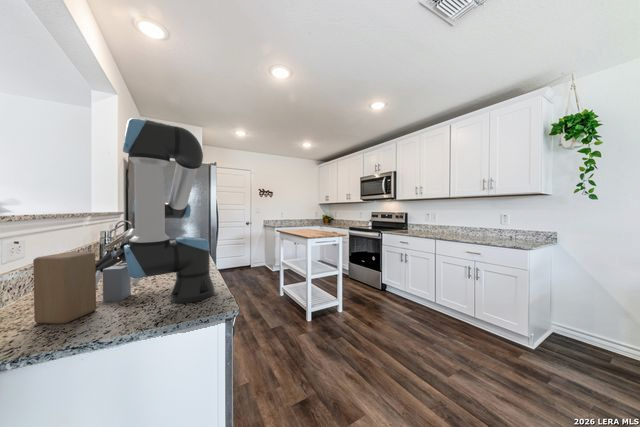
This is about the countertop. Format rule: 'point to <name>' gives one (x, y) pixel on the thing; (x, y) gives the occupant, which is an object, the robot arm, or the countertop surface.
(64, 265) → the wooden block
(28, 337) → the countertop surface
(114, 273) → the slate block
